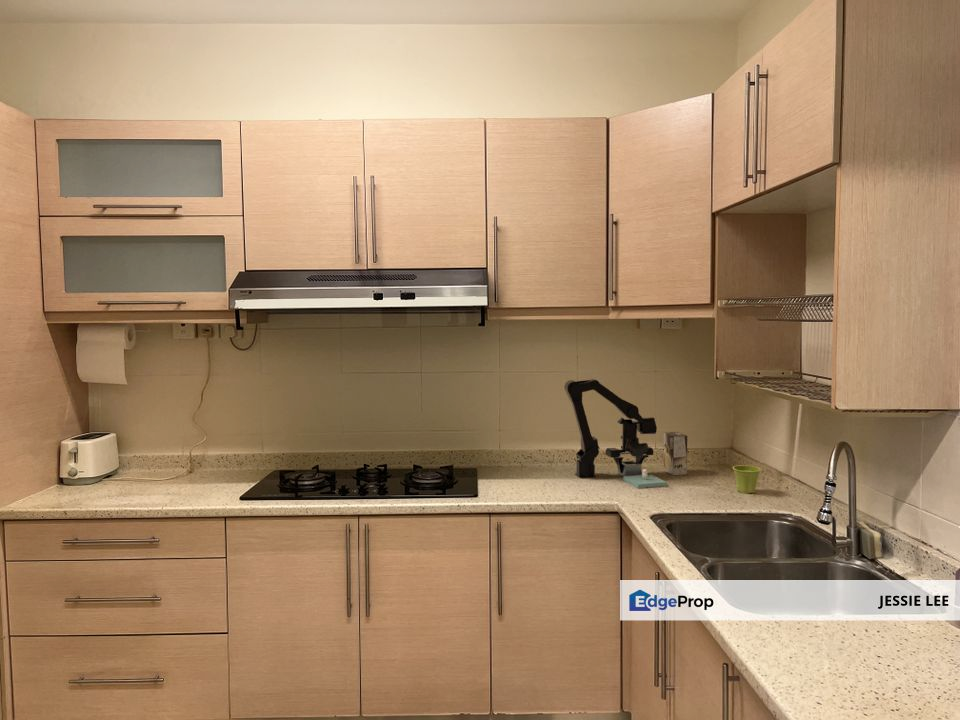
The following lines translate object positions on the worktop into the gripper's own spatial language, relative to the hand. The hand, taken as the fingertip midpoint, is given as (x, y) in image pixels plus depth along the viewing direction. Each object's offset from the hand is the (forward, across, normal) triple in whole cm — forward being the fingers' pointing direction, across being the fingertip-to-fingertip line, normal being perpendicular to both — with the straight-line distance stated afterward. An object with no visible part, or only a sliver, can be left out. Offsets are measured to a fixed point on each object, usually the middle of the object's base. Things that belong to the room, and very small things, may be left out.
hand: (629, 472), depth 253 cm
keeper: (+1, 0, -13) cm, 13 cm away
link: (+1, 0, 0) cm, 1 cm away
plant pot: (+1, +30, -33) cm, 45 cm away
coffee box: (+1, +20, -1) cm, 20 cm away
